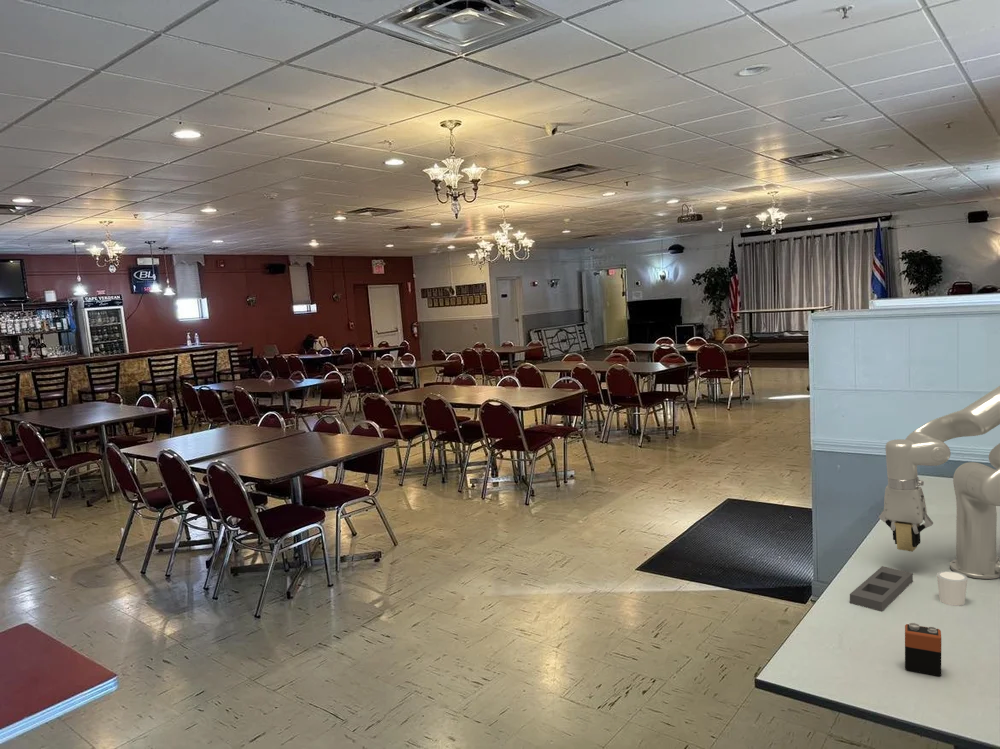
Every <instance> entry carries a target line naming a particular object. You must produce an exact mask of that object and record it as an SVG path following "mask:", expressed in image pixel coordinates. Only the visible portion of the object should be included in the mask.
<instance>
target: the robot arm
mask: <svg viewBox="0 0 1000 749" xmlns="http://www.w3.org/2000/svg"><path fill="white" fill-rule="evenodd" d="M999 426H1000V385H999V386H998V387H996V388H994V389H992V390H991V391H989V392H988V393H986V394H984V395H983V396H981V397H980V398H979V399H977V400H975V401H974V402H972V403H971V404H969V405H967V406H966V407H964V408H963V409H960V410H957V411H954V412H951V413H948V414H946V415H942V416H940V417H937V418H934V419H931V420H929V421H927V422H926V423H924V424H922V425H921V426H920V427H918V428H916V429H915V430H913V431H912V432H911V433H909V434H908V435H907V436H906V438H905V439H900V438H899V439H898V438H897V439H891V440H888V441H887V442H886V444H885V461H886V471H887V472H886V473H887V485H886V486H885V489H884V497H883V498H884V499H883V510H882V512H881V513H880V514H879V516H878V519H879V520H881V521H882V522H884V523H885V525H886V526H888V528H890V531H892V539H893V541H894V544H895V545H897V538H896V526H895V524H894V523H895V522H897V521H898V522H905V523H911V524H912V526H913V534H912V540H913V547H917V548H918V546H919V545H920V544H921V532H922V531H924V530H925V529H927V528H929V527H931V526H933V525H934V522H933V521H932V520H931V518H930V517H929V515H928V511H927V504H926V498H925V495H924V490H923V488H922V487H923V486H924V481H923V480H920V479H919V476H918V466H931V467H933V466H934V467H937V466H940V465H943V464H946V462H948V461H949V459H950V457H951V452H952V451H951V449H950V446H948V444H947V443H945V442H947V441H949V440H953V439H957V438H963V437H976V436H977V437H978V436H982V435H985V434H987V433H988V432H990V431H992V430H994V429H995V428H996V427H999ZM988 460H989V461H988V462H989V463H990V465H991V466H993V467H990V466H988V465H985V464H983V463H980V462H974V461H969V462H964V463H962V464H961V465H959V466H958V467H957V468H956V469H955V471H954V473H953V477H952V479H953V480H952V482H953V488H954V489H953V490H954V495H955V500H956V501H955V502H956V516H955V517H956V520H955V522H956V529H955V531H956V532H955V534H956V535H955V536H956V537H955V538H956V540H955V541H956V542H955V544H956V546H955V549H956V550H955V559H953V560H951V561H949V562H950V563H949V569H951V571H952V572H957V573H961V574H963V575H965V576H967V578H973V579H978V580H980V579H981V580H982V579H983V580H990V579H991V580H993V579H998V578H1000V556H998V555H997V526H998V525H997V521H998V519H997V518H998V515H997V514H998V513H997V507H1000V442H999V443H998V444H996V445H995V446H993V448H992V449H991V450H990V451H989V454H988Z"/></svg>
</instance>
